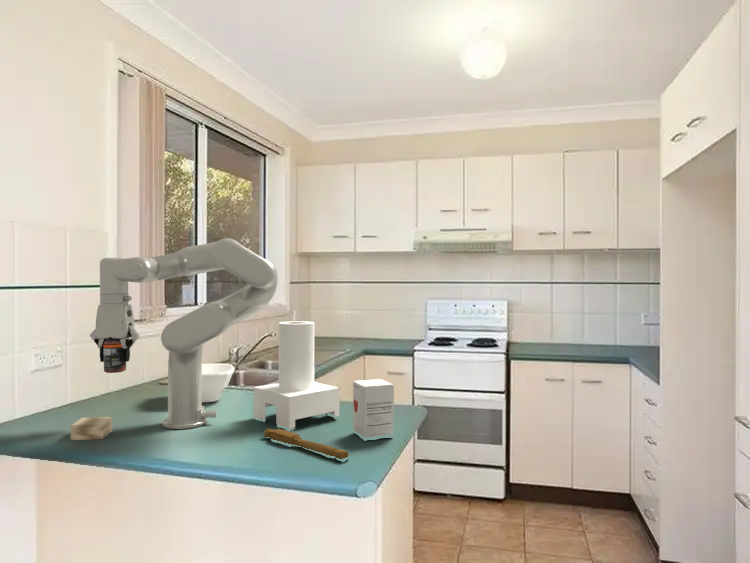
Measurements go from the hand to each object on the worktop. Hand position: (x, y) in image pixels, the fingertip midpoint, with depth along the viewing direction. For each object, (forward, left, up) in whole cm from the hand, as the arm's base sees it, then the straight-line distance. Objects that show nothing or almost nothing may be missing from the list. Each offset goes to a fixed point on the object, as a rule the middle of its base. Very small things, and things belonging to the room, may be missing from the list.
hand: (114, 360), depth 162 cm
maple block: (+3, +9, -19) cm, 21 cm away
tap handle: (-54, +28, -20) cm, 64 cm away
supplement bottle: (0, 0, -3) cm, 3 cm away
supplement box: (-74, +19, -19) cm, 79 cm away
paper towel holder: (-53, -1, -19) cm, 56 cm away
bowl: (-20, -30, -19) cm, 41 cm away
